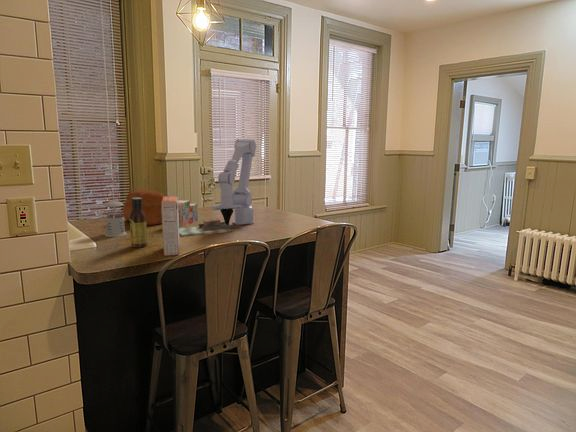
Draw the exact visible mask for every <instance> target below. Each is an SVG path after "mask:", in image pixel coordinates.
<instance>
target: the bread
mask: <svg viewBox="0 0 576 432" xmlns="http://www.w3.org/2000/svg"><path fill="white" fill-rule="evenodd" d="M137 197H139V198H142V210H143V211H144V212H145V215H146V226H153V225H154V226H155V225H160V224H161V225H162V210H161V202H162V199H163V197H165V195H164V194H163V193H162V192H160V191H157V190H151V189H143V188H141V189H133V190H131V191H130V192H129V193H128V194H127V195H126V197H125V203H123V204H124V205H123V209H122V213H123V214H122V216H124V220H126V221H127V222H130V215H131V212H132V198H137Z"/></svg>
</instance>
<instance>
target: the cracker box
mask: <svg viewBox="0 0 576 432" xmlns="http://www.w3.org/2000/svg"><path fill="white" fill-rule="evenodd" d="M164 196H165V195H164ZM178 199H179V197H178V196H175V195H173V196H172V195H168V196H167V195H166V196H165V197H163V199H162V202H161V210H162V223H161V225H162V226H161V229H162V245H163V256H164V257H165V256H166V257H168V256H169V257H170V256H171V257H172V256H180V244H181V243H180V234H179V213H178Z"/></svg>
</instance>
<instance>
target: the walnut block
mask: <svg viewBox="0 0 576 432" xmlns="http://www.w3.org/2000/svg"><path fill="white" fill-rule="evenodd" d="M221 222H222V221H221V219H218V218H212V219H210V218H209V219H203V224H204V226H214V225H221Z"/></svg>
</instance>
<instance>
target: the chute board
mask: <svg viewBox="0 0 576 432" xmlns="http://www.w3.org/2000/svg"><path fill="white" fill-rule="evenodd" d="M231 232H233V230H232V229H230V228H229V229H221V230H210V231H203V228H199V226H191V227H182V228H179V236H180V237H188V236H189V237H190V236H200V235H211V234H212V235H213V234H221V233H231Z"/></svg>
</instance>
